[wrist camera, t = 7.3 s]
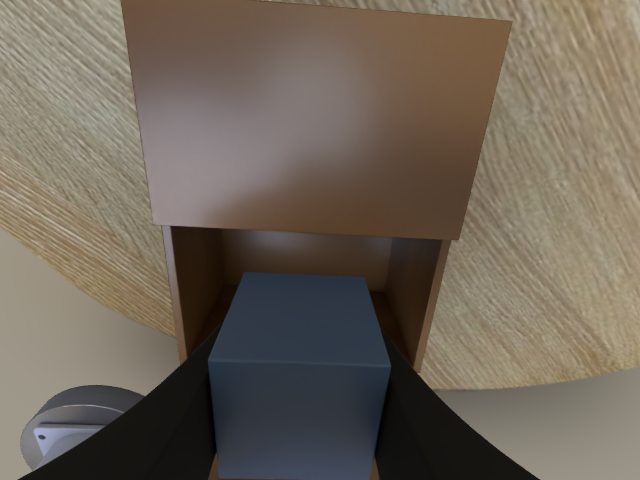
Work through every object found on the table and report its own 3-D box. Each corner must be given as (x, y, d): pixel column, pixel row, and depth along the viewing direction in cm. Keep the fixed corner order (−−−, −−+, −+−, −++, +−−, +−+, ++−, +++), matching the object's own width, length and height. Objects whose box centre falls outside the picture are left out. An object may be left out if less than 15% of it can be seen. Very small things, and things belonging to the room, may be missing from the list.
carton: (388, 293, 23) (424, 384, 15) (220, 286, 22) (173, 376, 15) (427, 56, 17) (515, 17, 10) (204, 39, 17) (116, -15, 9)
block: (364, 276, 12) (392, 365, 8) (353, 368, 14) (370, 482, 10) (243, 271, 12) (206, 359, 8) (247, 365, 14) (217, 479, 9)
